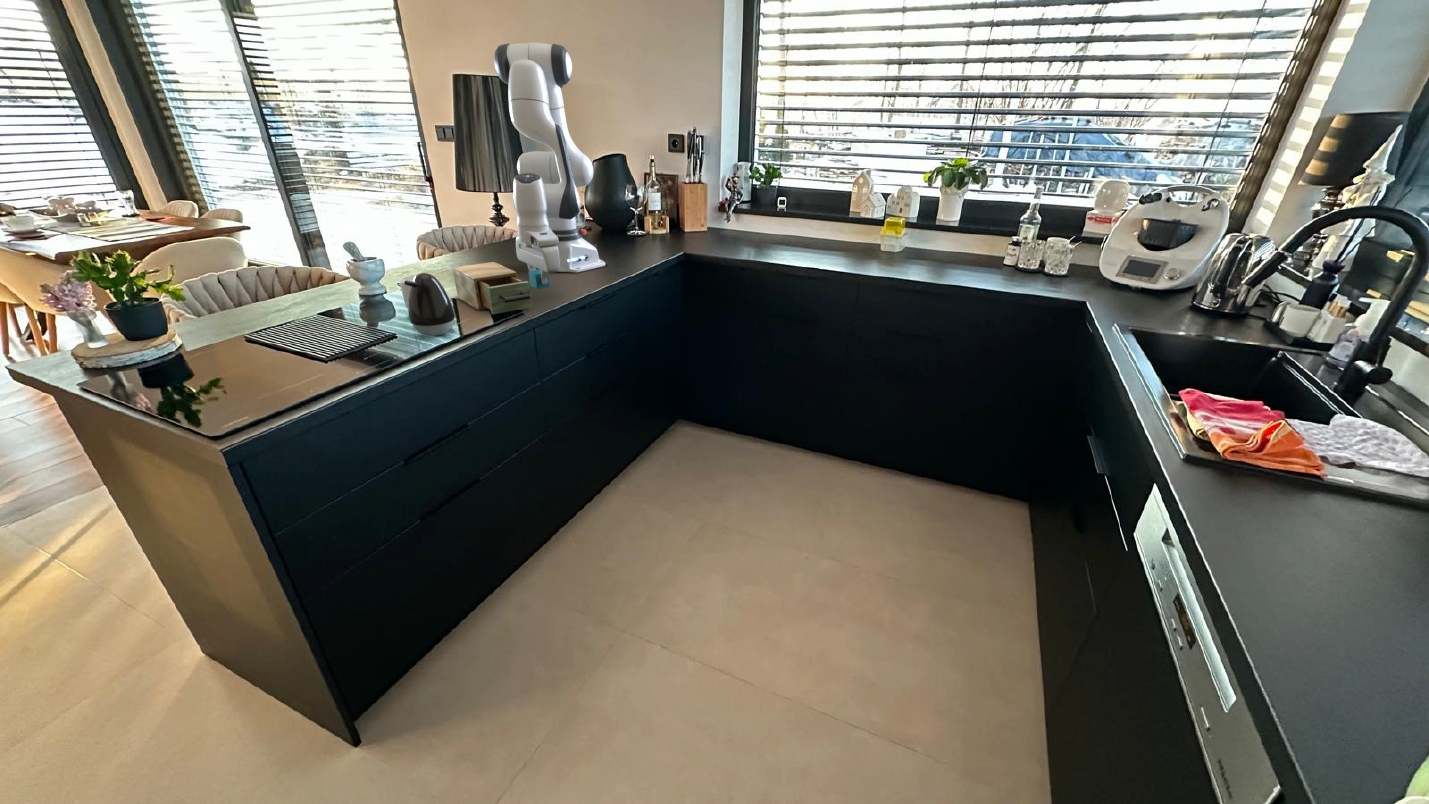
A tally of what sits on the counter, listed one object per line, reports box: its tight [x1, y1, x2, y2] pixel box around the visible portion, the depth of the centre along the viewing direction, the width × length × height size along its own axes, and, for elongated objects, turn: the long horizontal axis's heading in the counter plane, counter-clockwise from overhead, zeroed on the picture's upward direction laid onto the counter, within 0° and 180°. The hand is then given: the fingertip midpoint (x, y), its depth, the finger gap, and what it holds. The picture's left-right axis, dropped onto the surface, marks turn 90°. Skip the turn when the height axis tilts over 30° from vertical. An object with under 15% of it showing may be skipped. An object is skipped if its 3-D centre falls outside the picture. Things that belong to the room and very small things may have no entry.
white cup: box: [398, 275, 416, 314], centre depth 149 cm, size 8×8×10 cm
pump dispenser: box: [404, 272, 456, 337], centre depth 137 cm, size 10×10×15 cm
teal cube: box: [528, 269, 551, 290], centre depth 168 cm, size 4×4×4 cm
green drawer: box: [477, 276, 533, 315], centre depth 157 cm, size 19×11×7 cm, turn 43°
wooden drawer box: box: [452, 261, 519, 311], centre depth 165 cm, size 16×13×9 cm
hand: (539, 280), depth 168 cm, fingers closed on teal cube, 4 cm apart
